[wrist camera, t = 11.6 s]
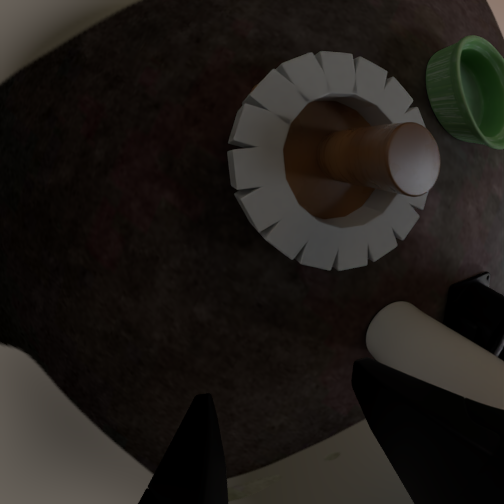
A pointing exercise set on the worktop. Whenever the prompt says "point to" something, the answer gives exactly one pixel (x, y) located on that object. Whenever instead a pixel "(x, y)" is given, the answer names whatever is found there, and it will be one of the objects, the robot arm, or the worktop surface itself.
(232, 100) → the worktop surface
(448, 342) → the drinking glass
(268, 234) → the segmented block ring
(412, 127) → the wooden peg stand
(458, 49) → the ramekin
